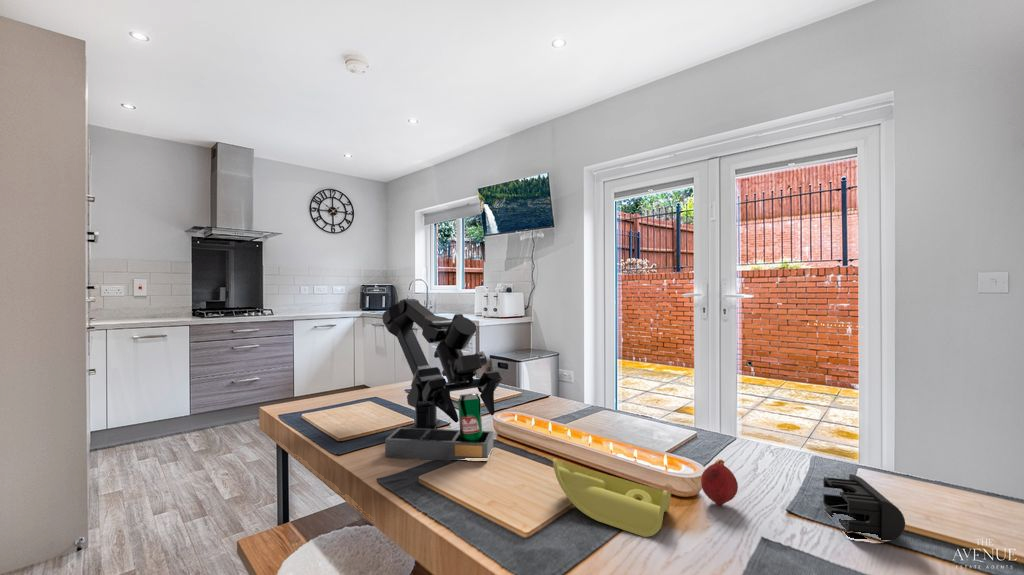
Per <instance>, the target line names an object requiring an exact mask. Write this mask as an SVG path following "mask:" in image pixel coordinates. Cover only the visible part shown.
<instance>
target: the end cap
mask: <svg viewBox="0 0 1024 575" xmlns="http://www.w3.org/2000/svg"><path fill="white" fill-rule="evenodd" d="M848 476H849V477H848V478H849V479H846V478H839V477H838V478H836V477H826V476H825V477H823V488H829V489H838V490H842V491H839V495H837V494H830V493H829V494H828V493H823V494H822V496H823V497H822V498H823V499H822V500H823V505H824V507H825V508H824V510H825V511H826V512H827V513H828V514H829V515H830V516H831V517H833V516H832V515H834V514H833V513H836V514H844V515H848V516H850V517H853V518H854V519H856V520H841V519H839V522H840V523H841V525H842V526H843V527H844V528H845V529H846V530H847V531H853V532H861V533H870V534H876V535H878V537H879V538H881V540H892V541H895V540H896V539H898V538H900V537H901V536H902V534H903V533H904V532H905V528H906V520H905V517H904V514H903V513H902V511H901V510H900V509H899V508H898V507H897V505H895V504H894V503H893V502H891V501H890V500H889V499H887V497H885V496H884V495H883V494H882V493H880V492H879V491H878V490H877V489H875V488H874V487H873V486H872V485H871V484H870V483H868V482H867V481H866V480H865V479H863V478H862V477H861V476H858V475H856V474H851V473H849V475H848ZM844 532H845V531H844ZM845 534H846V535H847V536H848V537H850V538H854V539H867V538H865V537H864V536H862V535H859V534H856V533H847V532H845Z"/></svg>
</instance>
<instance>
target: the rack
mask: <svg viewBox="0 0 1024 575" xmlns="http://www.w3.org/2000/svg"><path fill="white" fill-rule="evenodd" d="M482 434H483V442H463V441H461V440H460V429H443V428H440V429H439V428H436V429H423V428H411V427H398V428H397V429H395V430H394V431H393V432H392V433H391V434H390V435H388V436H387V437H386V438H385V441H384V444H385V447H384V450H385V451H384V453H385V454H384V455H385V456H384V457H385V458H392V459H393V458H394V459H395V458H396V459H413V460H414V459H415V460H432V461H433V460H434V461H451V460H457V459H465V458H488V455H489V453H490V451H491V449H492V447H493V448H494V431H493V430H482Z"/></svg>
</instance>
